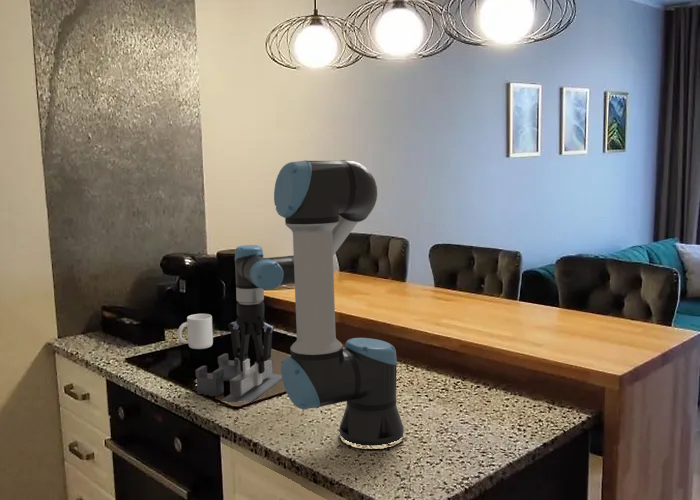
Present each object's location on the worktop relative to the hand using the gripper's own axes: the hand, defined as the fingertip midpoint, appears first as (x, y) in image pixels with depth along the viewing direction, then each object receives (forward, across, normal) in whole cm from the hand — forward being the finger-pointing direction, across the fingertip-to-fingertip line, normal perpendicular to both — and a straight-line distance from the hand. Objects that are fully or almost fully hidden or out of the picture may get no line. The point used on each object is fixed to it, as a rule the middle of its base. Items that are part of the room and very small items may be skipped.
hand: (252, 383), depth 193 cm
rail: (0, 0, 0) cm, 0 cm away
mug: (+2, +38, -31) cm, 49 cm away
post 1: (+2, +10, +6) cm, 12 cm away
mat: (+2, 0, 0) cm, 2 cm away
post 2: (+2, +10, -6) cm, 12 cm away
